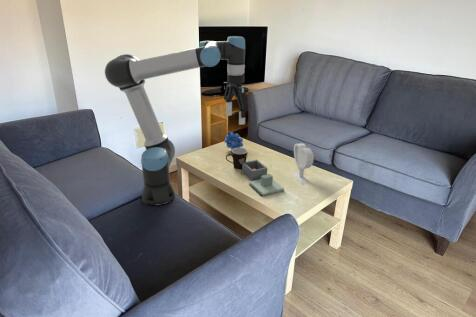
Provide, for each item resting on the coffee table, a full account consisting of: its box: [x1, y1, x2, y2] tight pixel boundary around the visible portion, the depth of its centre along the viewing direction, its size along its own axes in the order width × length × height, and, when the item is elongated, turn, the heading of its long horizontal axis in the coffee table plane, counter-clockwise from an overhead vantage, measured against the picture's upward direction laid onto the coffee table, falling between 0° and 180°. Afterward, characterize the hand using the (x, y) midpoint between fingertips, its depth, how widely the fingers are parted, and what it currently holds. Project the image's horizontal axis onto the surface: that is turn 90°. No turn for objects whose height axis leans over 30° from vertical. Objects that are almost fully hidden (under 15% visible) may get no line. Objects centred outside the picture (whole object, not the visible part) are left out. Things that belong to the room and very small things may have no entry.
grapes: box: [223, 132, 244, 151], centre depth 209 cm, size 12×7×12 cm, turn 92°
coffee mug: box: [225, 147, 248, 171], centre depth 190 cm, size 12×9×10 cm
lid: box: [249, 173, 285, 196], centre depth 170 cm, size 12×13×6 cm
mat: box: [248, 183, 284, 197], centre depth 172 cm, size 13×12×1 cm
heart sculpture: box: [291, 143, 315, 185], centre depth 178 cm, size 16×5×18 cm, turn 16°
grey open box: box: [241, 159, 268, 182], centre depth 182 cm, size 9×11×6 cm
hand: (235, 119), depth 160 cm, fingers open, 13 cm apart
